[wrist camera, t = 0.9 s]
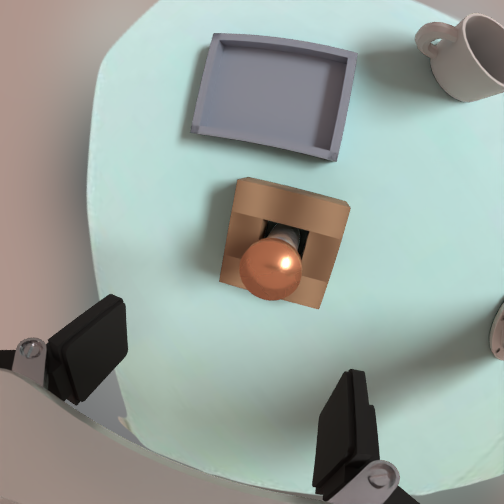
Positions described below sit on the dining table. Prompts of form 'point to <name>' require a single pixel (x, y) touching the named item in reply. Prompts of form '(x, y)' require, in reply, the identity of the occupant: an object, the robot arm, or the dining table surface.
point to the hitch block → (293, 214)
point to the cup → (466, 56)
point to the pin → (273, 264)
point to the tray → (275, 93)
